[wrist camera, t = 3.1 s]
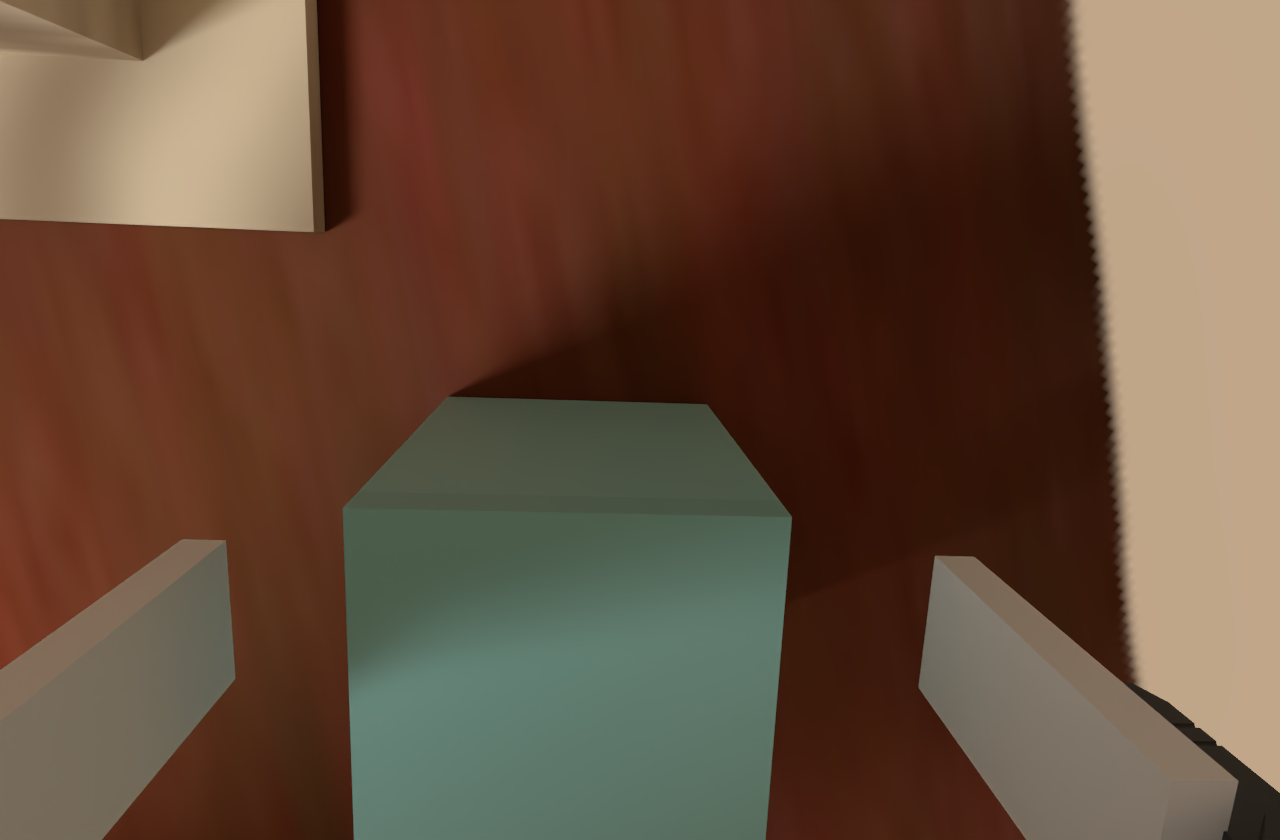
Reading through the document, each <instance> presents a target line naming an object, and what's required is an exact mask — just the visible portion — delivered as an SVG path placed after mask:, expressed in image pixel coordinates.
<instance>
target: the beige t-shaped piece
mask: <svg viewBox="0 0 1280 840" xmlns="http://www.w3.org/2000/svg"><path fill="white" fill-rule="evenodd" d="M0 219H15V220H39V221H62V222H86V223H109V224H133V225H157V226H180V227H204V228H227V229H251V230H274V231H298V232H322V233H325V217H324V189H323V162H322V134H321V106H320V78H319V50H318V22H317V0H0Z"/></svg>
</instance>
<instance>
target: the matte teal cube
mask: <svg viewBox="0 0 1280 840" xmlns="http://www.w3.org/2000/svg"><path fill="white" fill-rule="evenodd" d="M791 524H792V516H791V515H790V514H789V512H788V511H787V510H786V508H785V507H784V506H783V504H782V503H781V502H780V500H779V499H778V498H777V496H776V495H775V494H774V492H773V491H772V490H771V488H770V487H769V486H768V484H767V483H766V482H765V481H764V479H763V478H762V477H761V475H760V474H759V473H758V471H757V470H756V469H755V467H754V466H753V465H752V463H751V462H750V461H749V459H748V458H747V457H746V455H745V454H744V453H743V451H742V450H741V449H740V447H739V446H738V445H737V443H736V442H735V441H734V439H733V438H732V437H731V435H730V434H729V433H728V431H727V430H726V429H725V427H724V426H723V425H722V423H721V422H720V421H719V419H718V418H717V417H716V416H715V414H714V413H713V412H712V410H711V409H710V408H709V406H708V405H707V404H682V403H648V402H614V401H580V400H546V399H512V398H478V397H447V398H446V399H445V400H444V401H443V402H442V403H441V404H440V405H439V407H438V408H437V409H436V410H435V411H434V412H433V413H432V414H431V415H430V416H429V417H428V418H427V419H426V420H425V421H424V422H423V423H422V425H421V426H420V427H419V428H418V429H417V430H416V431H415V432H414V433H413V434H412V435H411V436H410V437H409V438H408V439H407V440H406V442H405V443H404V444H403V445H402V446H401V447H400V448H399V449H398V450H397V451H396V452H395V453H394V454H393V455H392V456H391V457H390V458H389V460H388V461H387V462H386V463H385V464H384V465H383V466H382V467H381V468H380V469H379V470H378V471H377V472H376V473H375V474H374V475H373V477H372V478H371V479H370V480H369V481H368V482H367V483H366V484H365V485H364V486H363V487H362V488H361V489H360V490H359V491H358V492H357V494H356V495H355V496H354V497H353V498H352V499H351V500H350V501H349V502H348V503H347V504H346V505H345V506H344V507H343V530H344V560H345V589H346V619H347V648H348V678H349V708H350V737H351V767H352V796H353V826H354V840H765V839H766V827H767V815H768V803H769V791H770V778H771V766H772V754H773V742H774V730H775V718H776V706H777V694H778V682H779V670H780V657H781V645H782V633H783V621H784V609H785V597H786V585H787V573H788V561H789V549H790V536H791Z"/></svg>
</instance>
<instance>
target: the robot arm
mask: <svg viewBox="0 0 1280 840" xmlns="http://www.w3.org/2000/svg"><path fill="white" fill-rule="evenodd" d="M234 680H235V666H234V651H233V637H232V623H231V608H230V594H229V579H228V565H227V551H226V540H189V539H182V540H181V541H179V542H178V543H176V544H175V545H174V546H172V547H171V548H170V549H168V550H167V551H165V552H164V553H163V554H161V555H160V556H158V557H157V558H156V559H154V560H153V561H151V562H150V563H149V564H147V565H146V566H144V567H143V568H142V569H140V570H139V571H138V572H136V573H135V574H133V575H132V576H131V577H129V578H128V579H126V580H125V581H124V582H122V583H121V584H119V585H118V586H117V587H115V588H114V589H112V590H111V591H110V592H108V593H107V594H106V595H104V596H103V597H101V598H100V599H99V600H97V601H96V602H94V603H93V604H92V605H90V606H89V607H87V608H86V609H85V610H83V611H82V612H80V613H79V614H78V615H76V616H75V617H74V618H72V619H71V620H69V621H68V622H67V623H65V624H64V625H62V626H61V627H60V628H58V629H57V630H55V631H54V632H53V633H51V634H50V635H49V636H47V637H46V638H44V639H43V640H42V641H40V642H39V643H37V644H36V645H35V646H33V647H32V648H30V649H29V650H28V651H26V652H25V653H23V654H22V655H21V656H19V657H18V658H17V659H15V660H14V661H12V662H11V663H10V664H8V665H7V666H5V667H4V668H3V669H1V670H0V840H102V839H103V838H104V837H105V835H106V834H107V833H108V832H109V831H110V829H111V828H112V827H113V826H114V825H115V823H116V822H117V821H118V820H119V819H120V817H121V816H122V815H123V814H124V812H125V811H126V810H127V809H128V808H129V806H130V805H131V804H132V803H133V802H134V800H135V799H136V798H137V797H138V796H139V794H140V793H141V792H142V791H143V790H144V788H145V787H146V786H147V785H148V784H149V782H150V781H151V780H152V779H153V778H154V776H155V775H156V774H157V773H158V771H159V770H160V769H161V768H162V767H163V765H164V764H165V763H166V762H167V761H168V759H169V758H170V757H171V756H172V755H173V753H174V752H175V751H176V750H177V749H178V747H179V746H180V745H181V744H182V743H183V741H184V740H185V739H186V738H187V737H188V735H189V734H190V733H191V732H192V730H193V729H194V728H195V727H196V726H197V724H198V723H199V722H200V721H201V720H202V718H203V717H204V716H205V715H206V714H207V712H208V711H209V710H210V709H211V708H212V706H213V705H214V704H215V703H216V702H217V700H218V699H219V698H220V697H221V696H222V694H223V693H224V692H225V691H226V689H227V688H228V687H229V686H230V685H231V683H232V682H233V681H234ZM918 688H919V689H920V691H921V692H922V693H923V695H924V696H925V698H926V699H927V700H928V702H929V703H930V705H931V706H932V707H933V709H934V710H935V712H936V713H937V714H938V716H939V717H940V719H941V720H942V722H943V723H944V724H945V726H946V727H947V729H948V730H949V731H950V733H951V734H952V736H953V737H954V738H955V740H956V741H957V743H958V744H959V745H960V747H961V748H962V750H963V751H964V753H965V754H966V755H967V757H968V758H969V760H970V761H971V762H972V764H973V765H974V767H975V768H976V769H977V771H978V772H979V774H980V775H981V776H982V778H983V779H984V781H985V782H986V783H987V785H988V786H989V788H990V789H991V791H992V792H993V793H994V795H995V796H996V798H997V799H998V800H999V802H1000V803H1001V805H1002V806H1003V807H1004V809H1005V810H1006V812H1007V813H1008V814H1009V816H1010V817H1011V819H1012V820H1013V822H1014V823H1015V824H1016V826H1017V827H1018V829H1019V830H1020V831H1021V833H1022V834H1023V836H1024V837H1025V838H1026V840H1280V793H1279V792H1278V791H1276V790H1275V789H1274V788H1273V787H1271V786H1270V785H1269V784H1268V783H1267V782H1265V781H1264V780H1263V779H1262V778H1260V777H1259V776H1258V775H1257V774H1256V773H1254V772H1253V771H1252V770H1251V769H1249V768H1248V767H1247V766H1246V765H1244V764H1243V763H1242V762H1241V761H1240V760H1238V759H1237V758H1236V757H1235V756H1233V755H1232V754H1231V753H1230V752H1229V751H1227V750H1226V749H1225V748H1224V747H1222V746H1217V744H1216V741H1215V740H1214V739H1213V738H1211V737H1210V736H1209V735H1208V734H1206V733H1205V732H1204V731H1203V730H1202V729H1200V728H1195V726H1194V723H1193V722H1192V721H1191V720H1189V719H1188V718H1187V717H1186V716H1184V715H1183V714H1182V713H1181V712H1179V711H1178V710H1177V709H1176V708H1175V707H1173V706H1172V705H1171V704H1170V703H1168V702H1167V701H1165V700H1163V699H1160V698H1159V697H1157V696H1155V695H1153V694H1151V693H1149V692H1148V691H1146V690H1144V689H1142V688H1140V687H1138V686H1136V685H1134V684H1129V683H1122V682H1121V681H1120V680H1119V679H1118V678H1117V677H1115V676H1114V675H1113V674H1112V673H1111V672H1109V671H1108V670H1107V669H1106V668H1105V667H1104V666H1102V665H1101V664H1100V663H1099V662H1098V661H1097V660H1095V659H1094V658H1093V657H1092V656H1091V655H1089V654H1088V653H1087V652H1086V651H1085V650H1084V649H1082V648H1081V647H1080V646H1079V645H1078V644H1076V643H1075V642H1074V641H1073V640H1072V639H1071V638H1069V637H1068V636H1067V635H1066V634H1065V633H1064V632H1062V631H1061V630H1060V629H1059V628H1058V627H1056V626H1055V625H1054V624H1053V623H1052V622H1051V621H1049V620H1048V619H1047V618H1046V617H1045V616H1044V615H1042V614H1041V613H1040V612H1039V611H1038V610H1036V609H1035V608H1034V607H1033V606H1032V605H1031V604H1029V603H1028V602H1027V601H1026V600H1025V599H1023V598H1022V597H1021V596H1020V595H1019V594H1018V593H1016V592H1015V591H1014V590H1013V589H1012V588H1011V587H1009V586H1008V585H1007V584H1006V583H1005V582H1003V581H1002V580H1001V579H1000V578H999V577H998V576H996V575H995V574H994V573H993V572H992V571H990V570H989V569H988V568H987V567H986V566H985V565H983V564H982V563H981V562H980V561H979V560H978V559H976V558H975V557H965V556H935V559H934V567H933V575H932V583H931V591H930V599H929V607H928V615H927V623H926V631H925V638H924V646H923V654H922V662H921V670H920V678H919V686H918Z"/></svg>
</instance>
